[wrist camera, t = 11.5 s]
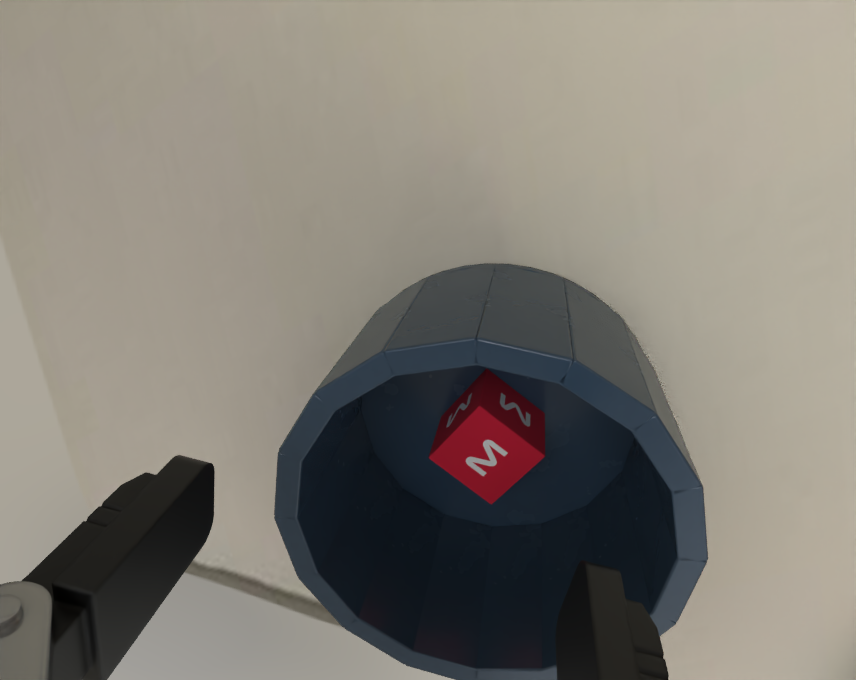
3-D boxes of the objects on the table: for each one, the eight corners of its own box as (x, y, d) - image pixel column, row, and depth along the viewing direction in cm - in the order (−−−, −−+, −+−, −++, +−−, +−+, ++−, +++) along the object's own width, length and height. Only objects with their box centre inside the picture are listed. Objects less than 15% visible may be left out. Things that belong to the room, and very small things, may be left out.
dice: (486, 367, 22) (479, 405, 20) (545, 413, 23) (545, 456, 20) (441, 416, 24) (428, 458, 21) (497, 458, 24) (491, 505, 21)
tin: (335, 492, 27) (266, 626, 20) (366, 232, 22) (285, 295, 15) (602, 561, 26) (625, 729, 19) (703, 303, 20) (786, 406, 14)
